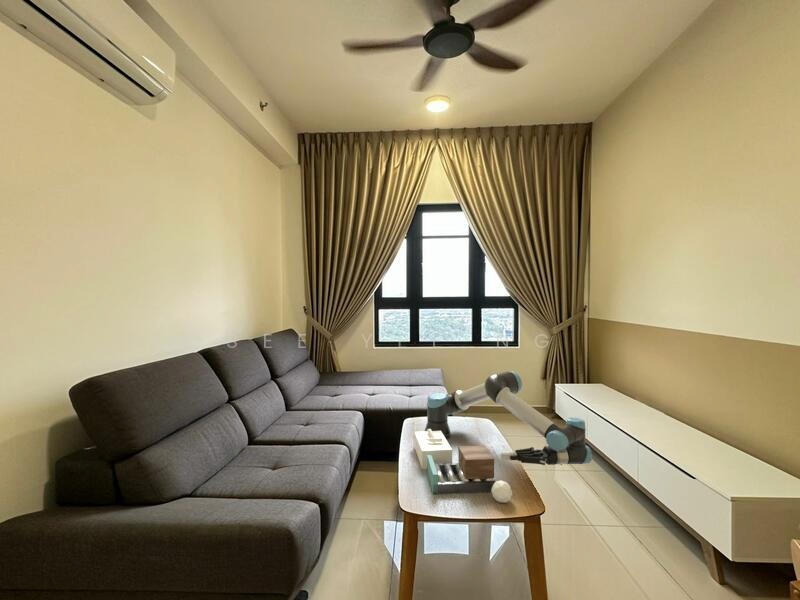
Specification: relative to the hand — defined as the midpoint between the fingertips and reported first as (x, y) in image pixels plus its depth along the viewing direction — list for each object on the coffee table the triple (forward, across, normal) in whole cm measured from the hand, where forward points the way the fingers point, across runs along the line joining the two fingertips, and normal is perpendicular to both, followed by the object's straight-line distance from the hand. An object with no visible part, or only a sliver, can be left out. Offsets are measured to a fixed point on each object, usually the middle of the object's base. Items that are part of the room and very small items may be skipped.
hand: (501, 456), depth 159 cm
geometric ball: (+6, -16, -11) cm, 20 cm away
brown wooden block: (+12, 0, -6) cm, 13 cm away
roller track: (+18, 0, -10) cm, 20 cm away
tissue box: (+27, +26, -11) cm, 39 cm away
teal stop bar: (+31, 0, -10) cm, 32 cm away
